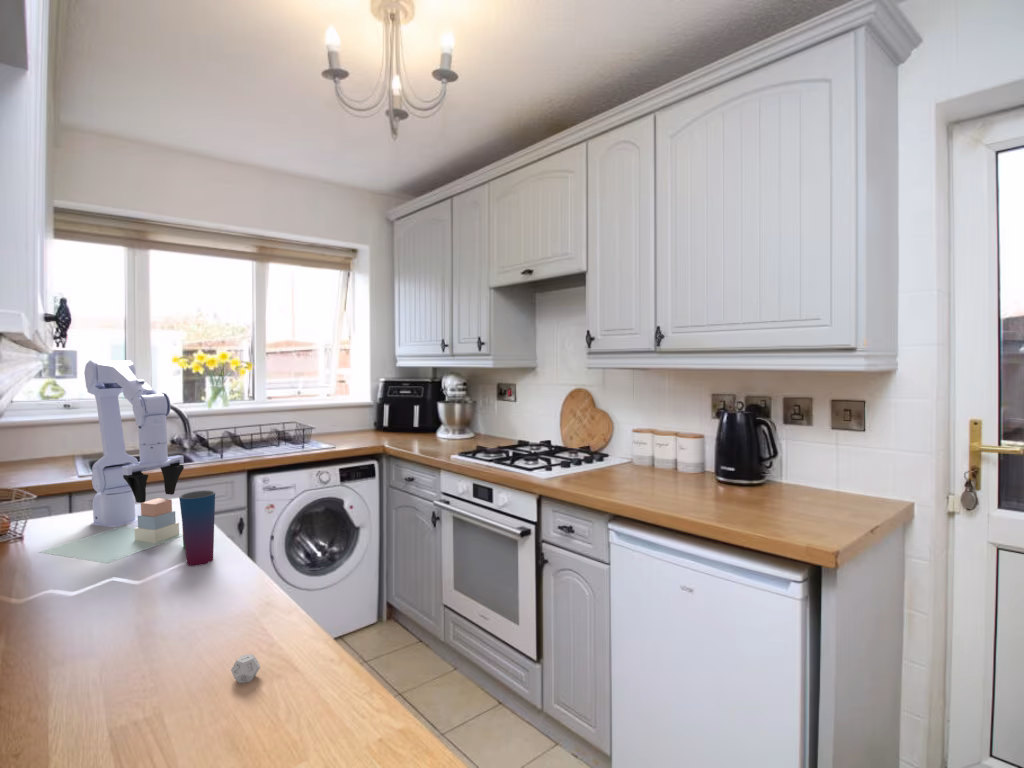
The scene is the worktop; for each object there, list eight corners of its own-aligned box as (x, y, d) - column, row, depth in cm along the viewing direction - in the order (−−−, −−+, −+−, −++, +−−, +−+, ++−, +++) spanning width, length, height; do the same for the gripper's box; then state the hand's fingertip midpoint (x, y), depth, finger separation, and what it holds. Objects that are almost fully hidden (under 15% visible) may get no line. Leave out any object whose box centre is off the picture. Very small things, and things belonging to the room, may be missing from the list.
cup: (222, 560, 118) (219, 493, 117) (187, 570, 113) (184, 500, 112) (211, 553, 123) (209, 488, 122) (177, 561, 118) (175, 494, 117)
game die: (230, 676, 76) (229, 656, 76) (259, 668, 78) (258, 648, 78) (232, 689, 73) (231, 668, 73) (262, 681, 75) (261, 660, 75)
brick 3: (134, 540, 130) (134, 528, 130) (159, 531, 136) (159, 520, 136) (154, 543, 128) (154, 530, 128) (179, 534, 134) (178, 522, 134)
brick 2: (138, 527, 130) (137, 515, 130) (159, 520, 135) (158, 509, 135) (154, 529, 128) (154, 517, 128) (175, 522, 133) (175, 511, 133)
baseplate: (38, 554, 122) (38, 551, 122) (121, 528, 141) (121, 526, 140) (107, 565, 116) (107, 563, 116) (185, 536, 134) (185, 534, 134)
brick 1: (141, 515, 130) (140, 502, 130) (158, 509, 134) (158, 498, 134) (155, 516, 129) (154, 504, 129) (172, 511, 133) (171, 499, 133)
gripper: (136, 449, 122) (139, 507, 123) (191, 439, 136) (194, 491, 137) (114, 447, 125) (116, 504, 125) (171, 438, 138) (173, 489, 139)
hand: (155, 498), depth 131 cm, fingers open, 7 cm apart
